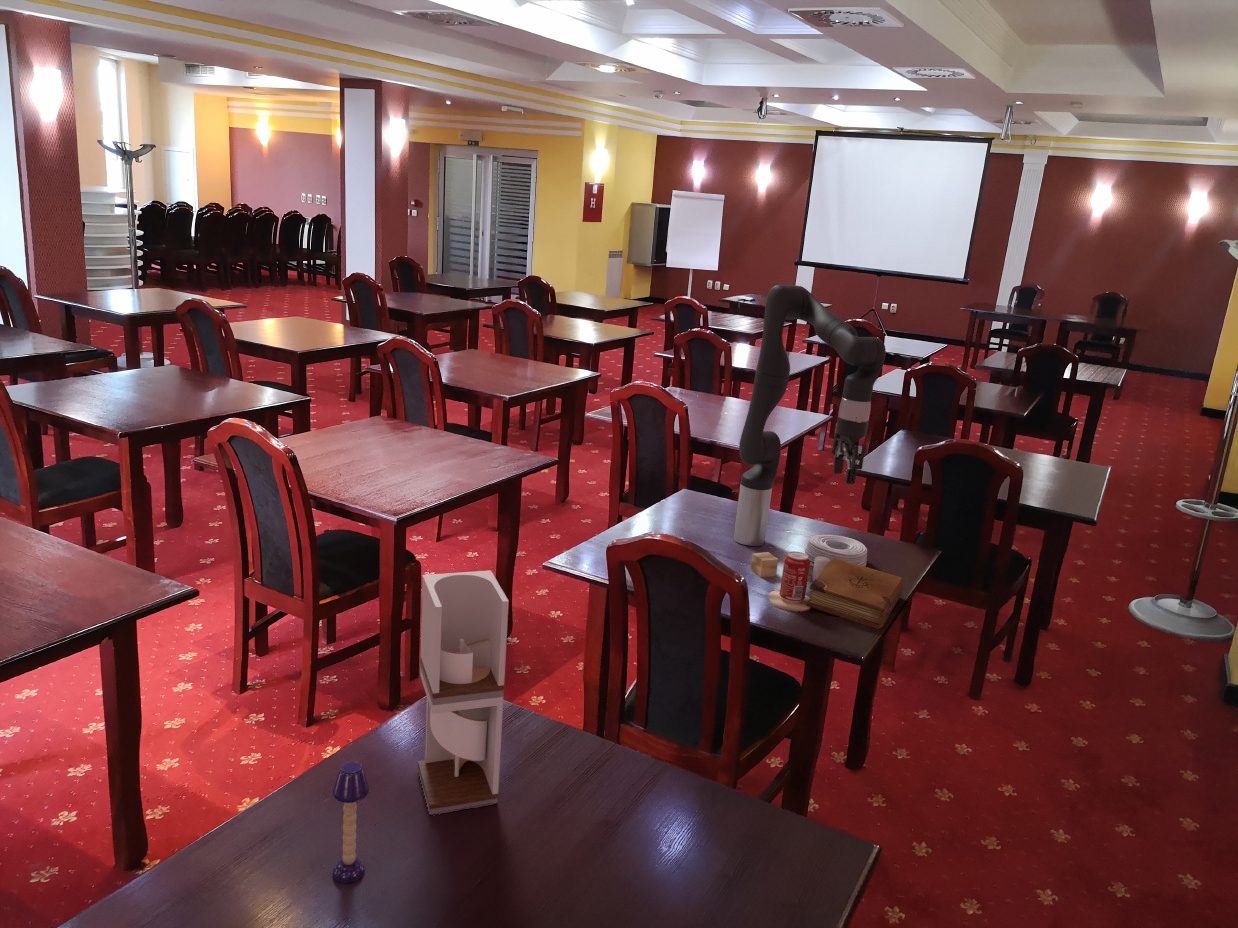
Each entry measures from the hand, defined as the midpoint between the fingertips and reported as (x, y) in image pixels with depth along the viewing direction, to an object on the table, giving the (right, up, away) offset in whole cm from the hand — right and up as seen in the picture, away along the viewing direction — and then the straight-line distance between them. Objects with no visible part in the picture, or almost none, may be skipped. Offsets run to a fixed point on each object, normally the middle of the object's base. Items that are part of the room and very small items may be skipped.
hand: (843, 478), depth 228 cm
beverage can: (-14, -31, -4) cm, 34 cm away
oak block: (-18, -26, +14) cm, 35 cm away
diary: (+3, -32, -1) cm, 32 cm away
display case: (-83, -49, -84) cm, 128 cm away
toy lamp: (-95, -53, -104) cm, 150 cm away
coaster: (-14, -31, -3) cm, 34 cm away
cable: (+4, -24, +27) cm, 37 cm away
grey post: (-3, -27, +12) cm, 30 cm away
